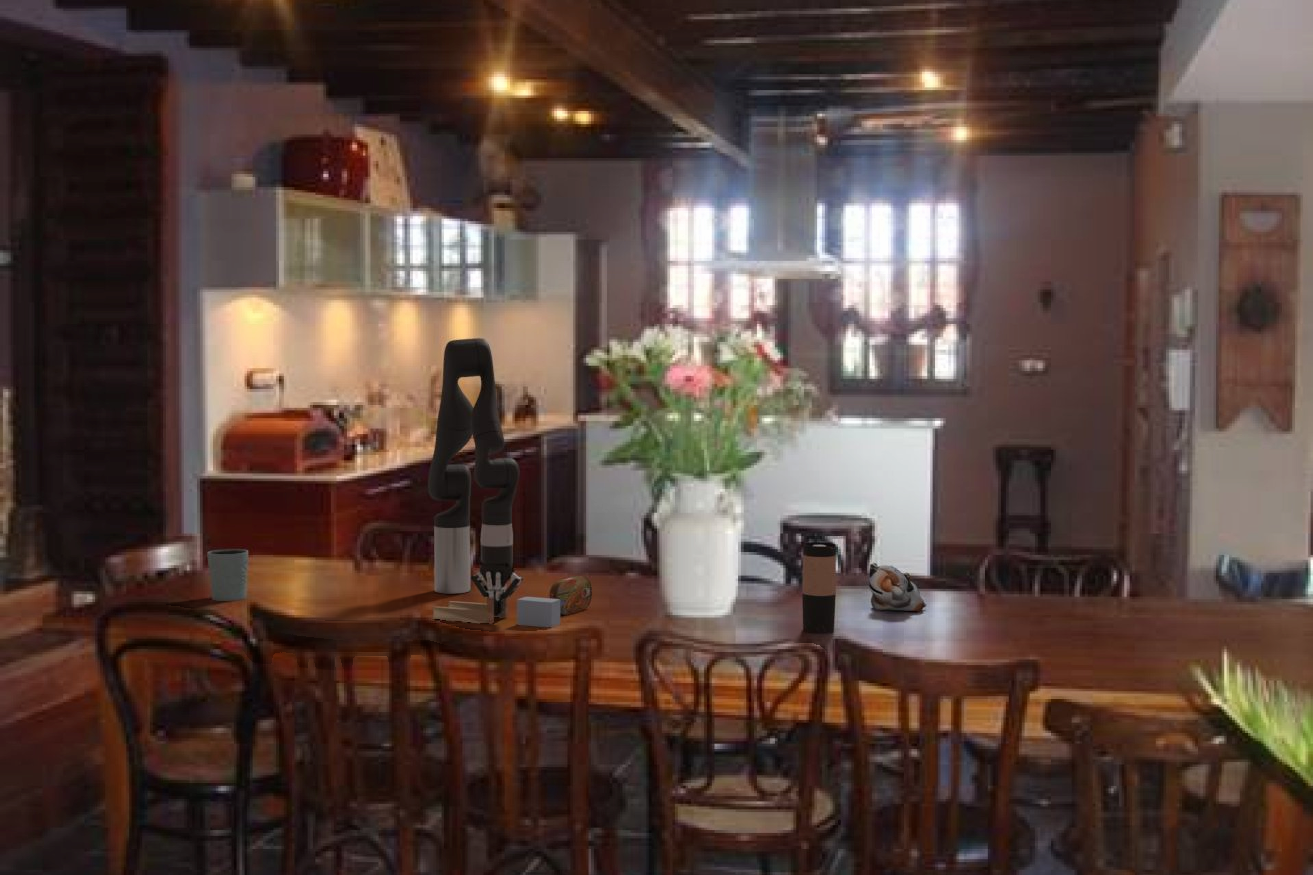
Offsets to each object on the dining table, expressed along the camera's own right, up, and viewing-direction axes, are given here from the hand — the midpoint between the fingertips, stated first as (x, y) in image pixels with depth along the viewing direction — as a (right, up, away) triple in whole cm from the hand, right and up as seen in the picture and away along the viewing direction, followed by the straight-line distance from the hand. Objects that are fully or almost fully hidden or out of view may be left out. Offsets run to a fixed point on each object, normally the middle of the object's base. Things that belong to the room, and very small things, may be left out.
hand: (496, 615), depth 363 cm
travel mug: (+75, -3, -10) cm, 76 cm away
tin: (+17, -1, +11) cm, 20 cm away
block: (+10, -2, -4) cm, 11 cm away
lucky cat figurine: (+97, -1, +17) cm, 98 cm away
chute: (-7, -1, +2) cm, 7 cm away
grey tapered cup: (-71, +1, +27) cm, 76 cm away
